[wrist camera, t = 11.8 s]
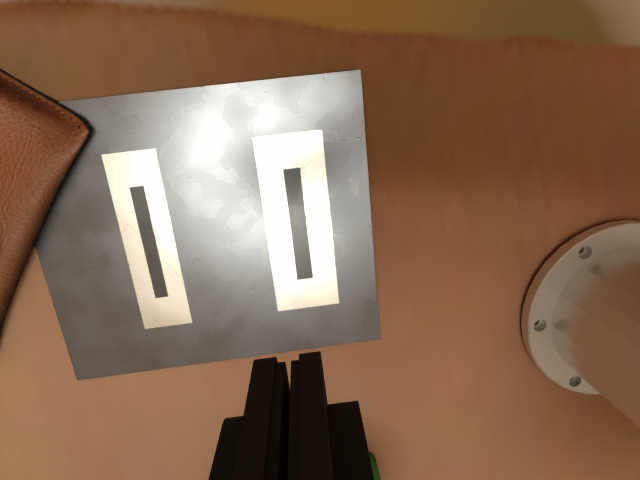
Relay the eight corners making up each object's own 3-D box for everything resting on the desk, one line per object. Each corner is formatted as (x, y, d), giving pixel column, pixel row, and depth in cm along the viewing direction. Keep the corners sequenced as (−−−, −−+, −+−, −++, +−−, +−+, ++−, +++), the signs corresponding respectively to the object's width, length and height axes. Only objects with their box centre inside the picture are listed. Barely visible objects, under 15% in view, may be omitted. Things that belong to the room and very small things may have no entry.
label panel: (360, 70, 24) (360, 69, 24) (379, 337, 29) (380, 338, 29) (-6, 108, 23) (-9, 108, 23) (78, 378, 28) (77, 380, 28)
